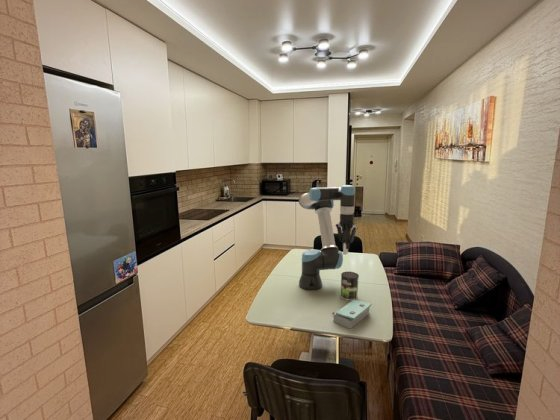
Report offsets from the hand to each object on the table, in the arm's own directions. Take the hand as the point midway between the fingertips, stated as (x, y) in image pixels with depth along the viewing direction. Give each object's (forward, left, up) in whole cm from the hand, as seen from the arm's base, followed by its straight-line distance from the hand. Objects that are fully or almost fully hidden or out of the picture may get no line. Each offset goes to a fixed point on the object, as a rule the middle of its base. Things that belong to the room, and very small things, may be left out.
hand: (345, 253), depth 172 cm
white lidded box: (+12, -12, -29) cm, 34 cm away
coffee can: (-1, +8, -30) cm, 31 cm away
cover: (+13, -12, -25) cm, 30 cm away
